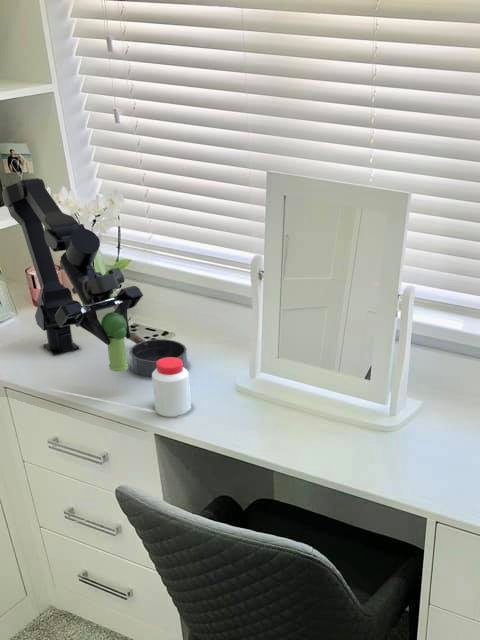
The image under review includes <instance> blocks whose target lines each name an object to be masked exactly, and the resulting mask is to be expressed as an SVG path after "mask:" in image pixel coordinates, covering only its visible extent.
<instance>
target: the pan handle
mask: <svg viewBox="0 0 480 640" xmlns="http://www.w3.org/2000/svg"><path fill="white" fill-rule="evenodd" d="M128 340H130V341H132V342H133V343H134V344H135V345H136V344H138V343H140V342H143V341H146V340H145V339H143V338H141V337H140V336H139V335H137V334H135V333H134V332H130V338H129V339H128ZM147 346H148V344H147V343H145V344H144V347H145V348H146V347H147Z"/></svg>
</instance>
